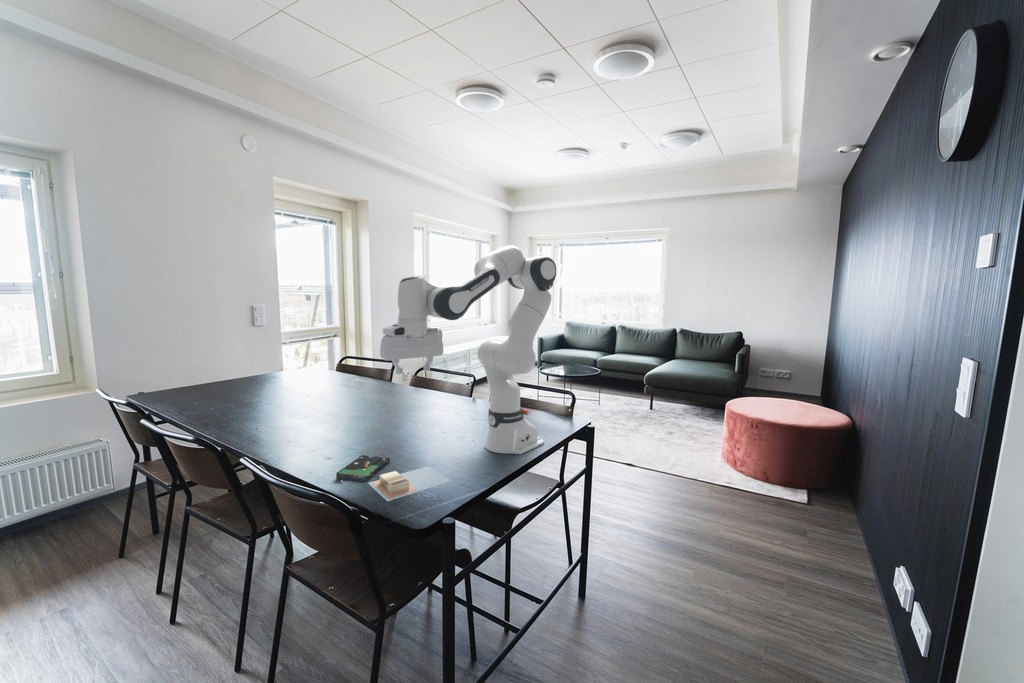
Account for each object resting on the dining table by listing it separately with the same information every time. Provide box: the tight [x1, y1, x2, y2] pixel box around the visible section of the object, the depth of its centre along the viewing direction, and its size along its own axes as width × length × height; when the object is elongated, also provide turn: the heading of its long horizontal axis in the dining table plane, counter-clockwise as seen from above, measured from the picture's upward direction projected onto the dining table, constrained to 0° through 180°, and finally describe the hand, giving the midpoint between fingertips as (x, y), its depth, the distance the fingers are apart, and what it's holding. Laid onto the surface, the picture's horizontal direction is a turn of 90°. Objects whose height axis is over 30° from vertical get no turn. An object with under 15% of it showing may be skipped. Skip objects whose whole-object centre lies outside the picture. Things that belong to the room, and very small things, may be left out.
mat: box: [367, 465, 452, 502], centre depth 126 cm, size 20×14×1 cm
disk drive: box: [335, 454, 391, 482], centre depth 134 cm, size 10×3×15 cm
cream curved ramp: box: [378, 470, 409, 495], centre depth 123 cm, size 9×5×3 cm, turn 39°
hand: (413, 371), depth 135 cm, fingers open, 8 cm apart
